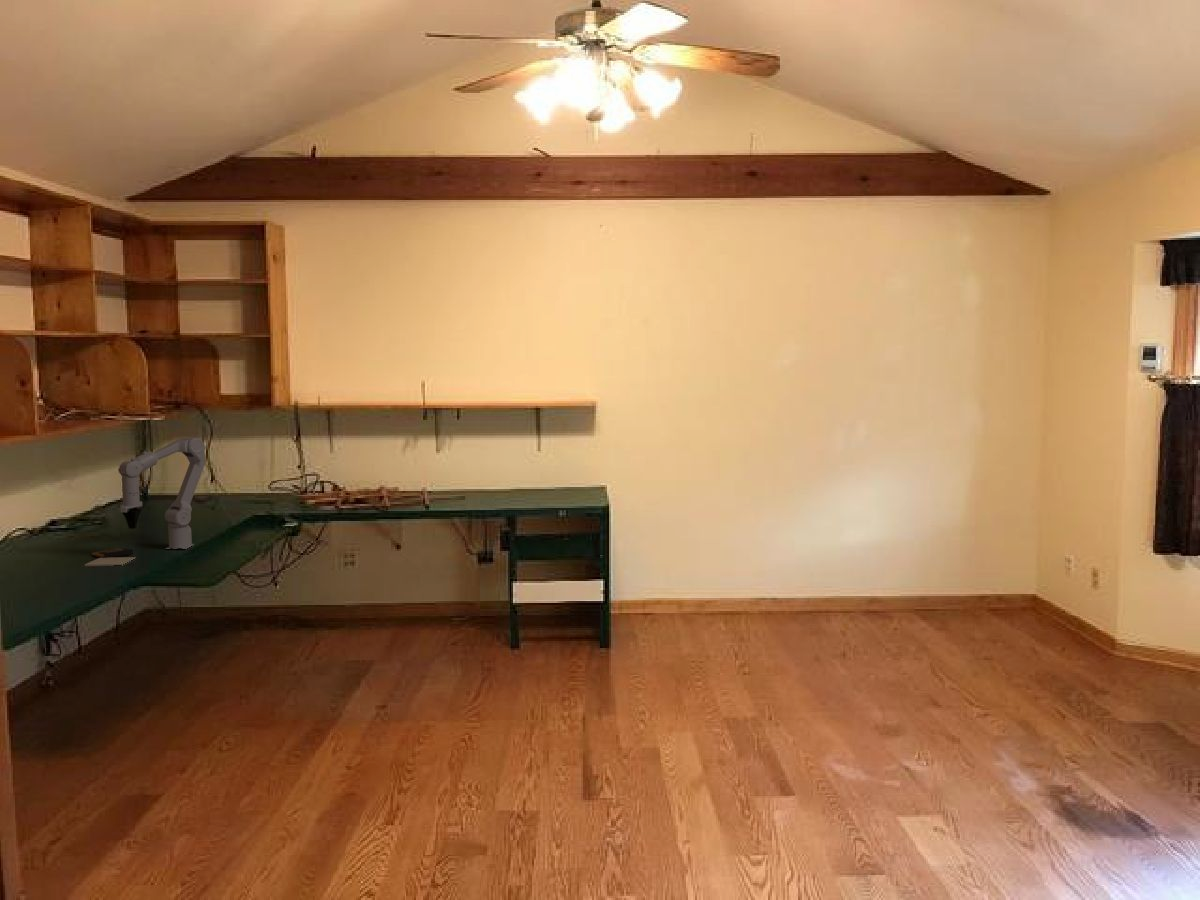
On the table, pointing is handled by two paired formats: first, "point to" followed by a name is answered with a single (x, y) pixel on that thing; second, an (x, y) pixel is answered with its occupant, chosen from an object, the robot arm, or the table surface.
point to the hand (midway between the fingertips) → (132, 528)
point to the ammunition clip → (113, 553)
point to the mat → (110, 561)
